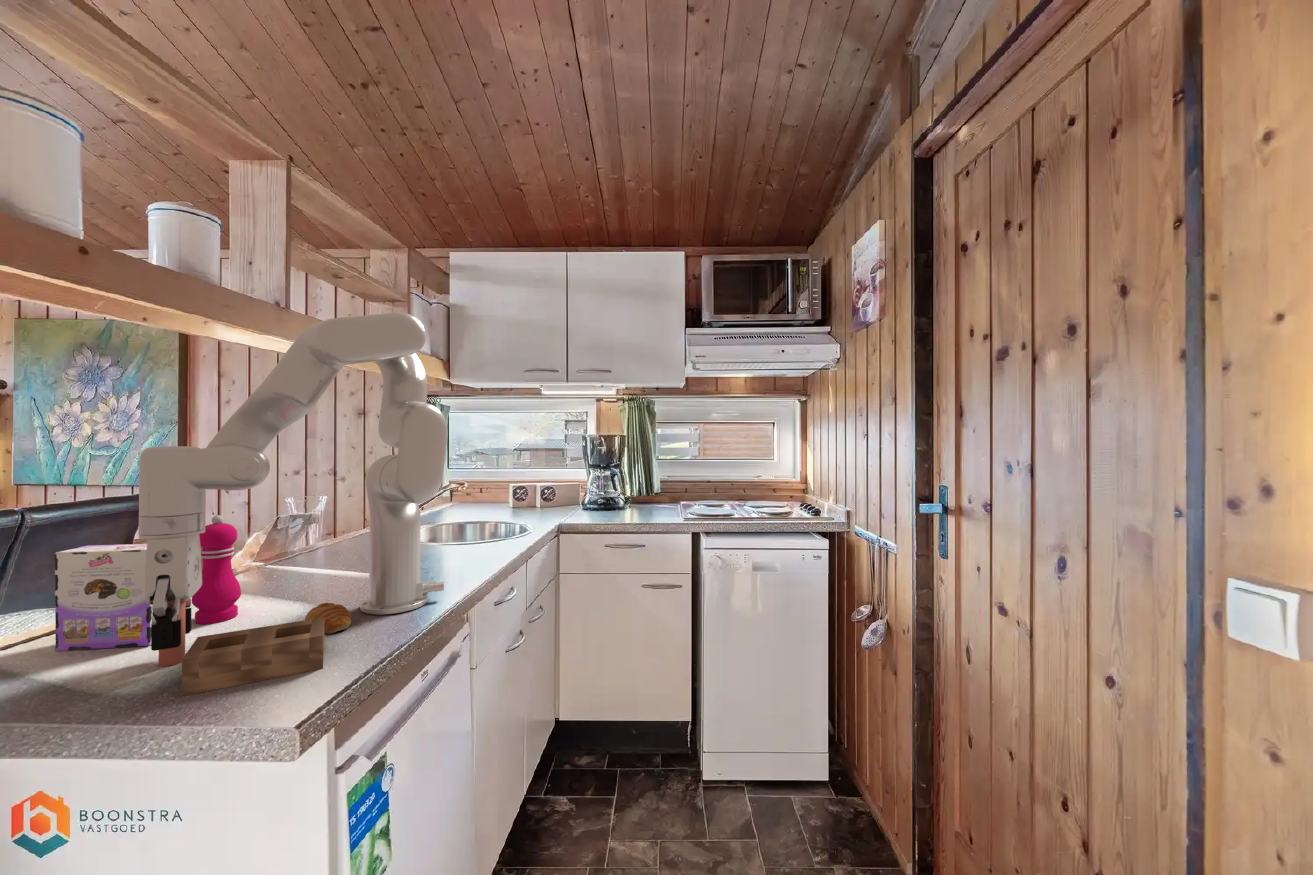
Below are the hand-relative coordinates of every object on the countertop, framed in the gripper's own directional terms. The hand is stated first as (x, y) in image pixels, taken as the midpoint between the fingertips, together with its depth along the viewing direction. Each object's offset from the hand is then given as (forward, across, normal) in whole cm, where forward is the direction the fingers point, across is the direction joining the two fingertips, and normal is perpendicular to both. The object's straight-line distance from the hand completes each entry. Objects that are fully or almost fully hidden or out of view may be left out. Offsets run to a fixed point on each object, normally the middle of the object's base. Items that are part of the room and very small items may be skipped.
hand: (172, 639), depth 78 cm
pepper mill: (+4, +21, -2) cm, 21 cm away
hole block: (+3, -10, -12) cm, 16 cm away
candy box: (+4, +15, +10) cm, 18 cm away
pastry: (+4, +6, -21) cm, 22 cm away
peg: (+3, 0, 0) cm, 3 cm away
